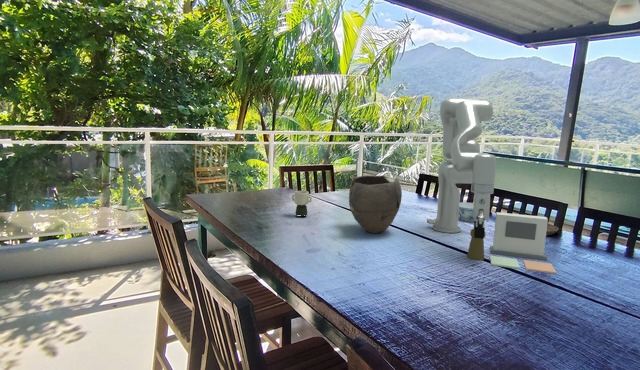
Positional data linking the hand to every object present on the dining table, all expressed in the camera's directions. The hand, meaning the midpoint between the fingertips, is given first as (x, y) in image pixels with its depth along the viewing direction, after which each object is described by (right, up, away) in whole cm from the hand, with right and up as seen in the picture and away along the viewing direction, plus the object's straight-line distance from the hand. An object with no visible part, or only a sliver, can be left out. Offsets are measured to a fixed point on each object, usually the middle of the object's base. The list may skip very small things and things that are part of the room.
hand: (478, 234), depth 140 cm
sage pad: (+8, -10, -3) cm, 13 cm away
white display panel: (+18, -8, +7) cm, 21 cm away
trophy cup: (-68, +2, +58) cm, 89 cm away
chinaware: (+20, 0, +59) cm, 62 cm away
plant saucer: (+43, -4, +41) cm, 59 cm away
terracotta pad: (+18, -11, -6) cm, 22 cm away
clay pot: (-34, -3, +33) cm, 48 cm away
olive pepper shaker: (0, -9, +2) cm, 9 cm away
